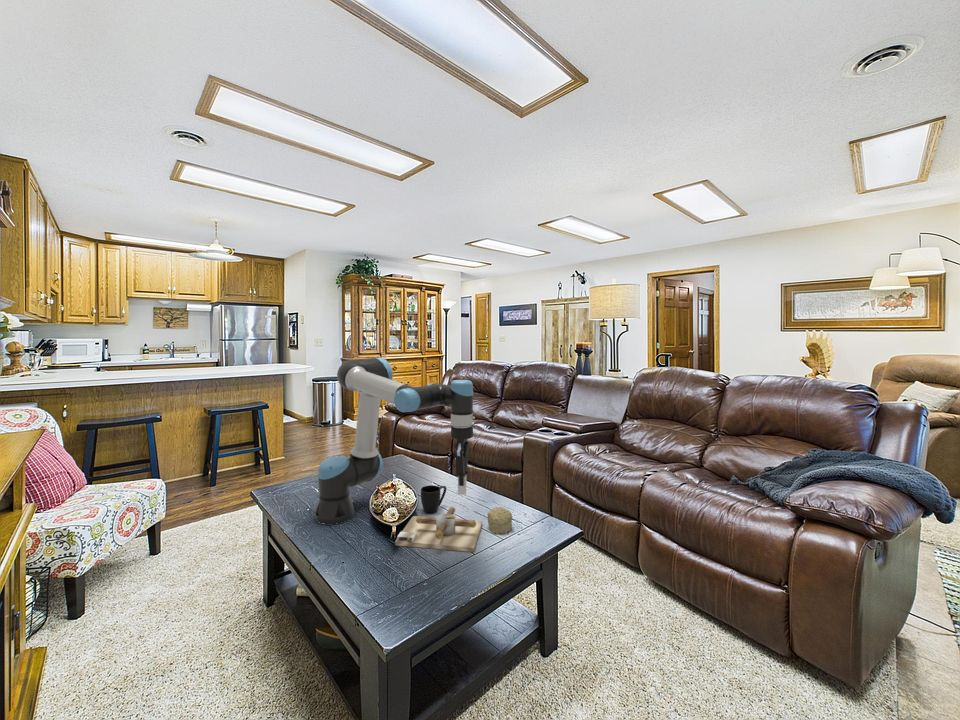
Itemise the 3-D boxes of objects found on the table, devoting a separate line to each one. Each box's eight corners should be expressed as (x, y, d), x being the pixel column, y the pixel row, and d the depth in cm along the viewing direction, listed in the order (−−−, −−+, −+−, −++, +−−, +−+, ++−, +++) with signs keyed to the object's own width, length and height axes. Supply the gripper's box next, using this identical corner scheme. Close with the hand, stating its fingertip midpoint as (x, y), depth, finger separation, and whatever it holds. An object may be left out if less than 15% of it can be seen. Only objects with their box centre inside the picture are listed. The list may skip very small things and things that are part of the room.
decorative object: (514, 538, 157) (516, 511, 162) (506, 533, 149) (509, 505, 154) (491, 535, 161) (494, 509, 166) (482, 531, 153) (485, 503, 158)
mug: (451, 509, 174) (451, 487, 174) (427, 517, 167) (427, 494, 166) (440, 502, 181) (440, 481, 180) (417, 510, 173) (416, 488, 172)
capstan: (406, 544, 142) (406, 528, 142) (424, 515, 164) (424, 501, 164) (470, 549, 139) (470, 533, 138) (480, 519, 161) (480, 505, 160)
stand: (395, 545, 144) (394, 537, 144) (412, 519, 164) (412, 512, 164) (473, 552, 140) (473, 544, 140) (482, 525, 160) (482, 517, 160)
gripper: (469, 430, 133) (469, 501, 134) (476, 422, 145) (475, 487, 147) (446, 429, 134) (447, 500, 135) (455, 421, 147) (455, 486, 148)
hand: (462, 493), depth 141 cm, fingers closed
